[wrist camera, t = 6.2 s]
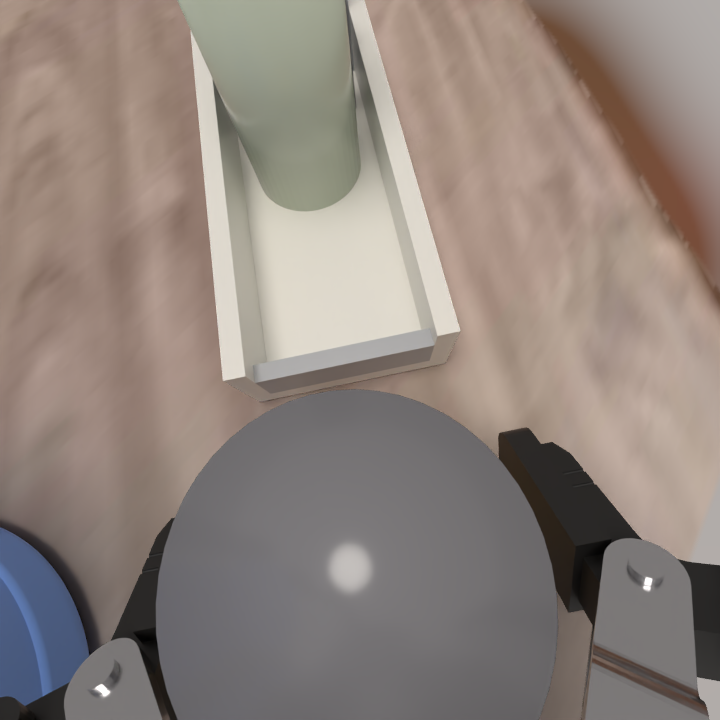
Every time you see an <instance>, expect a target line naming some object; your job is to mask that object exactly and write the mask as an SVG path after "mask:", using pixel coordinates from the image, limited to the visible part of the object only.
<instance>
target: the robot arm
mask: <svg viewBox="0 0 720 720" xmlns="http://www.w3.org/2000/svg"><path fill="white" fill-rule="evenodd" d="M498 441H499V460H500V461H501V462H502V463H503V464H504V466H505V467H506V468H507V470H508V471H509V473H510V474H511V475H512V477H513V478H514V479H515V481H516V482H517V484H518V485H519V487H520V488H521V490H522V492H523V494H524V496H525V497H526V499H527V501H528V503H529V504H530V506H531V508H532V510H533V512H534V515H535V517H536V519H537V522H538V524H539V527H540V529H541V531H542V534H543V536H544V540H545V543H546V547H547V550H548V554H549V557H550V561H551V564H552V569H553V576H554V582H555V588H556V590H557V592H558V594H559V596H560V597H561V599H562V601H563V603H564V605H565V607H566V609H567V611H568V612H574V611H580V610H584V611H585V613H586V614H587V616H588V618H589V620H590V621H591V623H592V632H591V640H590V648H589V656H588V664H587V672H586V680H585V688H584V696H583V704H582V712H581V720H709V715H708V711H707V707H706V704H705V702H704V701H702V700H701V699H700V697H699V694H698V688H697V677H700V678H705V679H711V680H716V681H720V565H710V564H701V563H692V562H687V561H683V560H679V559H676V558H675V557H674V556H673V555H672V554H670V553H669V552H668V551H666V550H665V549H663V548H661V547H660V546H657V545H655V544H653V543H651V542H648V541H644V540H642V539H641V538H640V537H639V536H638V535H637V534H636V533H635V531H634V530H633V529H632V528H631V527H630V525H629V524H628V523H627V522H626V520H625V519H624V518H623V517H622V516H621V514H620V513H619V512H618V511H617V510H616V508H615V507H614V506H613V505H612V503H611V502H610V501H609V500H608V499H607V497H606V496H605V495H604V494H603V493H602V491H601V490H600V489H599V488H598V486H597V485H594V483H593V480H592V479H591V478H590V477H589V475H588V474H587V473H586V472H584V471H583V468H582V467H581V466H580V465H579V463H578V462H577V461H576V460H575V458H574V457H573V456H572V455H571V454H570V453H569V452H567V451H566V450H564V449H562V448H561V447H559V446H558V445H556V444H554V443H553V442H550V443H545V444H540V442H539V441H538V440H537V438H536V437H535V436H534V434H533V433H532V432H531V430H530V429H529V428H521V429H516V430H511V431H506V432H501V433H499V437H498ZM174 519H175V518H171V520H170V521H169V522H168V523H167V525H166V526H165V527H164V528H163V529H162V531H161V532H160V533H159V534H158V536H157V538H156V540H155V542H154V544H153V547H152V549H151V551H150V553H149V558H147V560H146V563H145V565H144V567H143V569H142V574H140V576H139V578H138V581H137V583H136V585H135V588H134V590H133V592H132V594H131V597H130V599H129V601H128V603H127V606H126V608H125V610H124V613H123V615H122V617H121V619H120V622H119V624H118V626H117V629H116V631H115V633H114V635H113V637H112V639H111V641H110V642H108V643H106V644H104V645H102V646H101V647H100V648H98V649H97V650H95V651H94V652H93V653H92V654H91V655H90V656H89V657H88V658H87V659H86V660H85V661H84V662H83V663H82V664H81V666H80V667H79V668H78V670H77V671H76V672H75V674H74V676H73V677H72V679H71V681H70V682H69V683H67V684H65V685H63V686H62V687H60V688H58V689H56V690H54V691H52V692H50V693H48V694H46V695H44V696H43V697H41V698H39V699H37V700H35V701H33V702H31V703H29V704H27V705H26V706H24V705H23V704H22V703H20V702H19V701H18V700H17V699H15V698H13V697H9V696H5V697H0V720H178V719H177V717H176V714H175V711H174V709H173V706H172V703H171V701H170V698H169V696H168V693H167V689H166V685H165V681H164V677H163V673H162V669H161V665H160V659H159V651H158V643H157V636H156V597H157V587H158V576H159V571H160V566H161V562H162V557H163V552H164V548H165V545H166V542H167V539H168V536H169V533H170V529H171V526H172V523H173V521H174Z"/></svg>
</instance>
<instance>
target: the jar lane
mask: <svg viewBox="0 0 720 720" xmlns="http://www.w3.org/2000/svg"><path fill="white" fill-rule="evenodd" d="M346 4H347V15H348V25H349V35H350V46H351V56H352V67H353V77H354V88H355V98H356V117H357V127H358V138H359V148H360V158H361V170H360V174H359V177H358V180H357V182H356V184H355V185H354V187H353V188H352V190H351V191H350V192H349V193H348V194H347V195H346V196H345V197H344V198H342V199H341V200H340V201H338V202H336V203H335V204H333V205H331V206H329V207H326V208H323V209H320V210H315V211H294V210H290V209H286V208H284V207H281V206H279V205H277V204H276V203H274V202H273V201H272V200H270V199H269V198H268V196H267V195H266V194H265V193H264V191H263V189H262V187H261V185H260V183H259V181H258V178H257V176H256V174H255V172H254V169H253V167H252V165H251V163H250V161H249V158H248V156H247V154H246V152H245V149H244V147H243V145H242V143H241V141H240V138H239V136H238V134H237V132H236V129H235V127H234V125H233V123H232V121H231V118H230V116H229V114H228V112H227V110H226V107H225V105H224V103H223V101H222V98H221V96H220V94H219V92H218V90H217V87H216V85H215V83H214V81H213V78H212V76H211V74H210V72H209V70H208V67H207V65H206V63H205V61H204V58H203V56H202V54H201V52H200V50H199V47H198V45H197V43H196V41H195V38H194V36H193V34H192V32H191V41H192V52H193V62H194V73H195V84H196V95H197V106H198V116H199V127H200V138H201V149H202V160H203V170H204V181H205V192H206V203H207V213H208V224H209V235H210V246H211V257H212V267H213V278H214V289H215V300H216V311H217V321H218V332H219V343H220V354H221V365H222V375H223V381H224V382H226V383H227V384H229V385H231V386H233V387H234V388H236V389H238V390H240V391H241V392H243V393H245V394H247V395H249V396H250V397H252V398H254V399H256V400H257V401H259V402H262V401H267V400H272V399H277V398H281V397H286V396H291V395H296V394H300V393H305V392H310V391H315V390H320V389H324V388H329V387H334V386H339V385H344V384H348V383H353V382H358V381H363V380H368V379H372V378H377V377H382V376H387V375H392V374H396V373H401V372H406V371H411V370H416V369H420V368H425V367H430V366H435V365H440V364H444V363H446V361H447V359H448V357H449V354H450V352H451V350H452V348H453V346H454V344H455V342H456V340H457V337H458V335H459V333H460V328H459V325H458V321H457V318H456V314H455V311H454V307H453V304H452V300H451V297H450V294H449V290H448V287H447V283H446V280H445V276H444V273H443V269H442V266H441V263H440V259H439V256H438V252H437V249H436V245H435V242H434V239H433V235H432V232H431V228H430V225H429V221H428V218H427V214H426V211H425V208H424V204H423V201H422V197H421V194H420V190H419V187H418V183H417V180H416V177H415V173H414V170H413V166H412V163H411V159H410V156H409V153H408V149H407V146H406V142H405V139H404V135H403V132H402V128H401V125H400V122H399V118H398V115H397V111H396V108H395V104H394V101H393V97H392V94H391V91H390V87H389V84H388V80H387V77H386V73H385V70H384V67H383V63H382V60H381V56H380V53H379V49H378V46H377V42H376V39H375V36H374V32H373V29H372V25H371V22H370V18H369V15H368V11H367V8H366V5H365V1H364V0H346Z"/></svg>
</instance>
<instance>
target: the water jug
mask: <svg viewBox="0 0 720 720" xmlns="http://www.w3.org/2000/svg"><path fill="white" fill-rule="evenodd" d="M88 657H89V650H88V645H87V640H86V636H85V632H84V629H83V625H82V622H81V619H80V616H79V614H78V611H77V608H76V606H75V604H74V602H73V599H72V597H71V595H70V593H69V591H68V590H67V588H66V586H65V584H64V583H63V581H62V580H61V578H60V577H59V575H58V574H57V572H56V571H55V570H54V568H53V567H52V566H51V565H50V564H49V562H48V561H47V560H46V559H45V558H44V557H43V556H42V555H41V554H40V553H39V552H38V551H37V550H36V549H34V548H33V547H32V546H31V545H30V544H28V543H27V542H26V541H24V540H23V539H21V538H20V537H18V536H16V535H15V534H13V533H11V532H9V531H7V530H5V529H3V528H1V527H0V697H5V696H9V697H13V698H15V699H17V700H18V701H19V702H20V703H22V704H23V705H24V706H26V705H27V704H29V703H31V702H33V701H35V700H37V699H39V698H41V697H43V696H44V695H46V694H48V693H50V692H52V691H54V690H56V689H58V688H60V687H62V686H63V685H65V684H67V683H69V682H70V681H71V679H72V677H73V676H74V674H75V672H76V671H77V670H78V668H79V667H80V666H81V664H82V663H83V662H84V661H85V660H86V659H87V658H88Z"/></svg>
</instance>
